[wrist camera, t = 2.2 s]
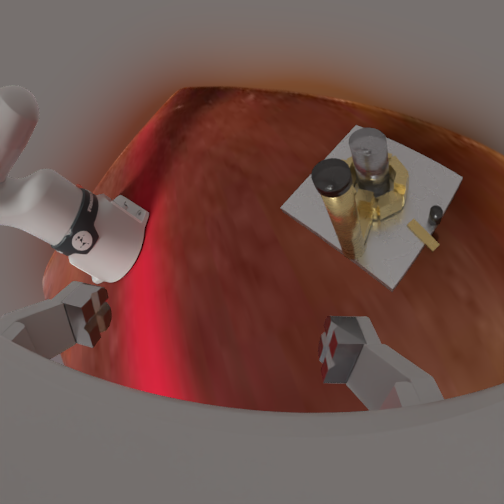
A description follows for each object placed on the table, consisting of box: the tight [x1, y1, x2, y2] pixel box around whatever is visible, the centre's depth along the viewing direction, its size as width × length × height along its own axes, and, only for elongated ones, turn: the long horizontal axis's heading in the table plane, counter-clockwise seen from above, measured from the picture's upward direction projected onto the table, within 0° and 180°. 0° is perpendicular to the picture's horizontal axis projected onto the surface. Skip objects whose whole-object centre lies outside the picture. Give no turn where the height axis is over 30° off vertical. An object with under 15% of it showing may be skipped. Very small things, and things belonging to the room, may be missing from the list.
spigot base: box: [281, 125, 463, 292], centre depth 28 cm, size 20×18×10 cm
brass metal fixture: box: [311, 153, 409, 260], centre depth 25 cm, size 14×8×14 cm, turn 151°
